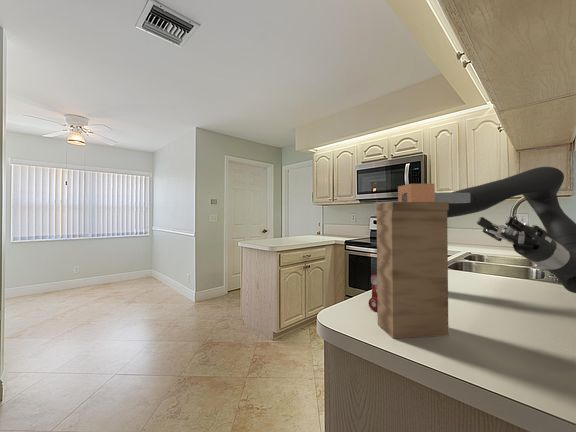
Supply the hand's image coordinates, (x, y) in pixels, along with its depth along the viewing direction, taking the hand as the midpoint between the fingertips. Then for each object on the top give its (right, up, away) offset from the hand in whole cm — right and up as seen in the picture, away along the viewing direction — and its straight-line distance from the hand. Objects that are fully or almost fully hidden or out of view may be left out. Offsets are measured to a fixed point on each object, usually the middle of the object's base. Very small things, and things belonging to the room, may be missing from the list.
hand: (492, 220), depth 68 cm
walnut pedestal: (-23, -28, -3) cm, 36 cm away
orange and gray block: (-16, +4, -2) cm, 17 cm away
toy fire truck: (-23, -28, +10) cm, 38 cm away
